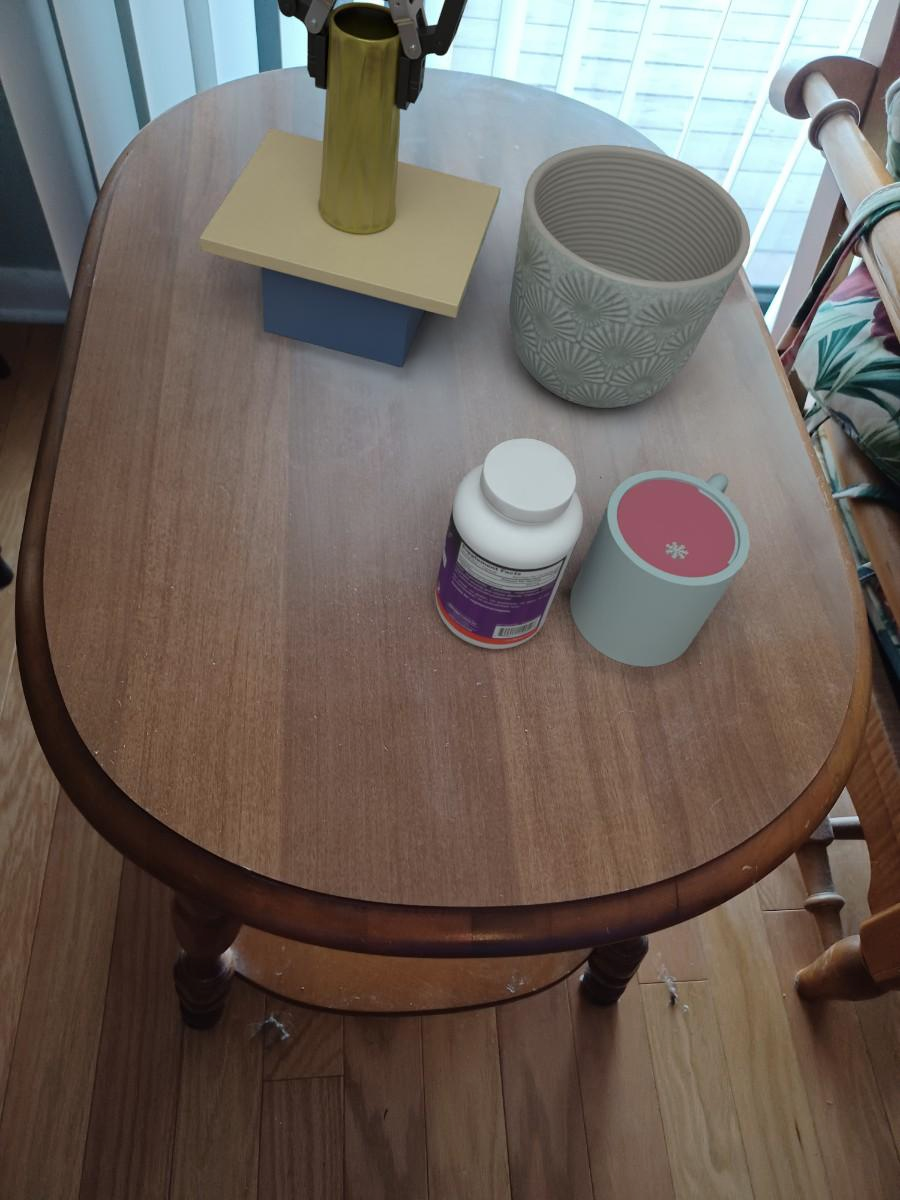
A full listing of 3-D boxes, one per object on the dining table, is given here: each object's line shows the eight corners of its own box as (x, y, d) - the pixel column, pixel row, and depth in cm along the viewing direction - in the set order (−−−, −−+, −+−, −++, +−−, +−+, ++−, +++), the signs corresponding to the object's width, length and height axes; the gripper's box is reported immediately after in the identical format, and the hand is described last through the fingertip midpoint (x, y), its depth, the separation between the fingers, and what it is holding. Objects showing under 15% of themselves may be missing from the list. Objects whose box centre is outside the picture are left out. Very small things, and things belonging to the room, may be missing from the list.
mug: (656, 690, 65) (708, 612, 57) (545, 614, 67) (580, 527, 59) (744, 570, 72) (802, 484, 64) (641, 504, 74) (684, 413, 66)
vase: (342, 243, 73) (351, 51, 61) (303, 198, 75) (305, 5, 63) (410, 224, 75) (431, 36, 63) (370, 181, 77) (383, -8, 66)
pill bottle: (472, 542, 70) (507, 400, 58) (565, 598, 68) (621, 464, 56) (410, 615, 66) (434, 478, 54) (508, 677, 64) (555, 550, 52)
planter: (678, 459, 77) (752, 309, 65) (475, 413, 77) (510, 254, 65) (686, 325, 87) (751, 172, 74) (505, 284, 87) (540, 123, 74)
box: (208, 333, 78) (199, 237, 71) (273, 223, 87) (271, 127, 80) (442, 396, 78) (458, 306, 70) (483, 278, 87) (501, 187, 79)
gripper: (517, -196, 55) (473, 93, 69) (280, -256, 56) (283, 44, 70) (491, -151, 51) (449, 147, 65) (234, -216, 51) (248, 94, 65)
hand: (364, 92), depth 67 cm, fingers closed on vase, 5 cm apart
